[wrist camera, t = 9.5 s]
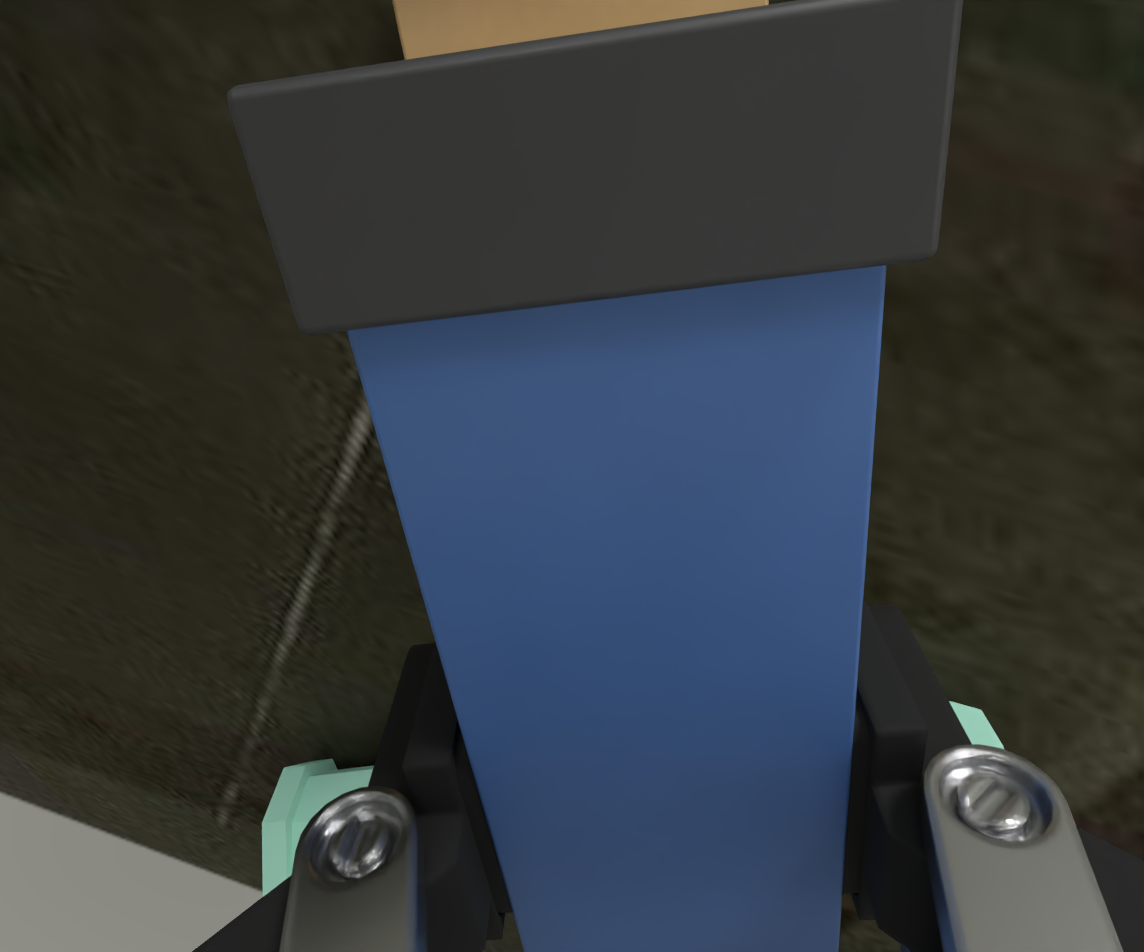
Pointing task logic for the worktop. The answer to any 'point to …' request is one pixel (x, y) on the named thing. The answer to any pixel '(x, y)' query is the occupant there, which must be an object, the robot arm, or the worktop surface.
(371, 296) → the handle
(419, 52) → the holder
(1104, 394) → the worktop surface
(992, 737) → the mint octagonal rod
